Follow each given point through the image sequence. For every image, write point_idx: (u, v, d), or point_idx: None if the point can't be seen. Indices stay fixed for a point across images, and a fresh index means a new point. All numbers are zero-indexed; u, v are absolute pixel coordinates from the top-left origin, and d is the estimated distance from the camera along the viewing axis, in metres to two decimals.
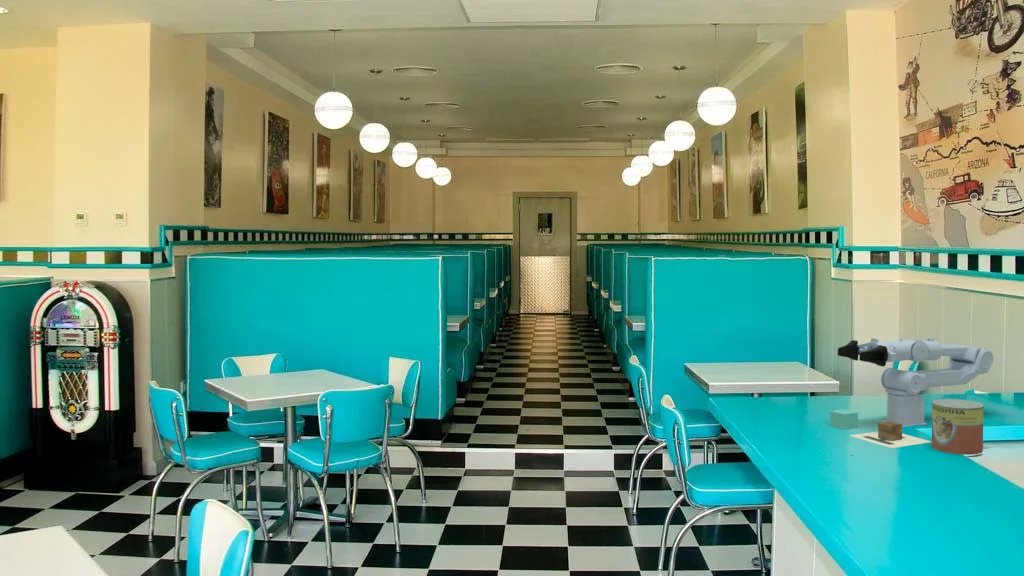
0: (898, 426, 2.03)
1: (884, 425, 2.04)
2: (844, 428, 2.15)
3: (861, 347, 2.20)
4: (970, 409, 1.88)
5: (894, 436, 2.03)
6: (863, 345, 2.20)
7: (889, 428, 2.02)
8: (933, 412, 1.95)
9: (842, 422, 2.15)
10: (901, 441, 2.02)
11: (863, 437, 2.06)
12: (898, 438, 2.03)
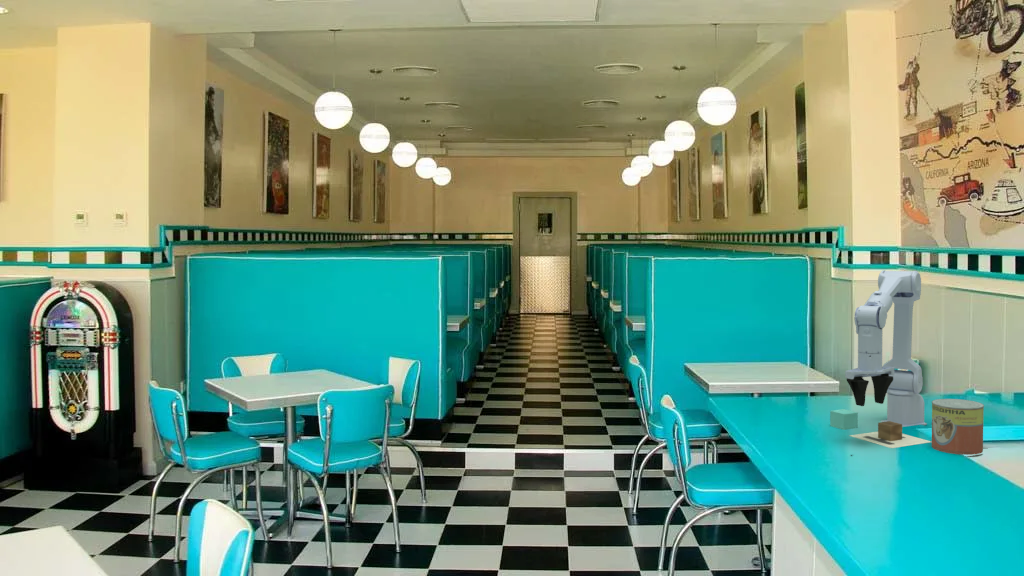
0: (898, 426, 2.03)
1: (884, 425, 2.04)
2: (844, 428, 2.15)
3: None
4: (970, 409, 1.88)
5: (894, 436, 2.03)
6: None
7: (889, 428, 2.02)
8: (933, 412, 1.95)
9: (842, 422, 2.15)
10: (901, 441, 2.02)
11: (863, 437, 2.06)
12: (898, 438, 2.03)
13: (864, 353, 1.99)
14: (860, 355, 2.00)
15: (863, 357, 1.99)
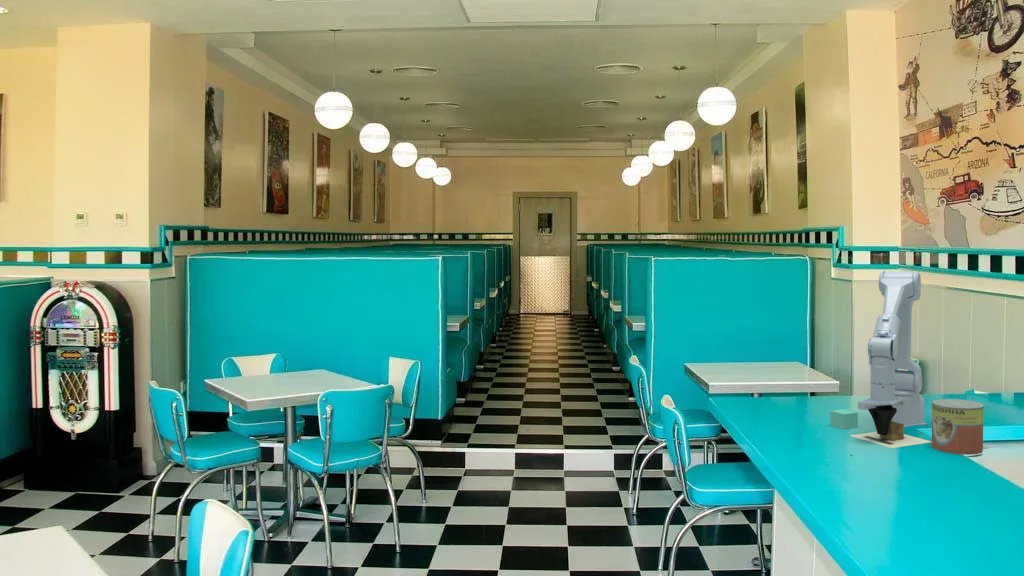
0: (900, 426, 2.03)
1: None
2: (844, 428, 2.15)
3: None
4: (970, 409, 1.88)
5: (896, 436, 2.03)
6: None
7: (891, 427, 2.02)
8: (933, 412, 1.95)
9: (842, 422, 2.15)
10: (901, 441, 2.02)
11: (863, 437, 2.06)
12: (899, 438, 2.03)
13: (877, 384, 2.01)
14: (873, 386, 2.02)
15: (876, 388, 2.01)
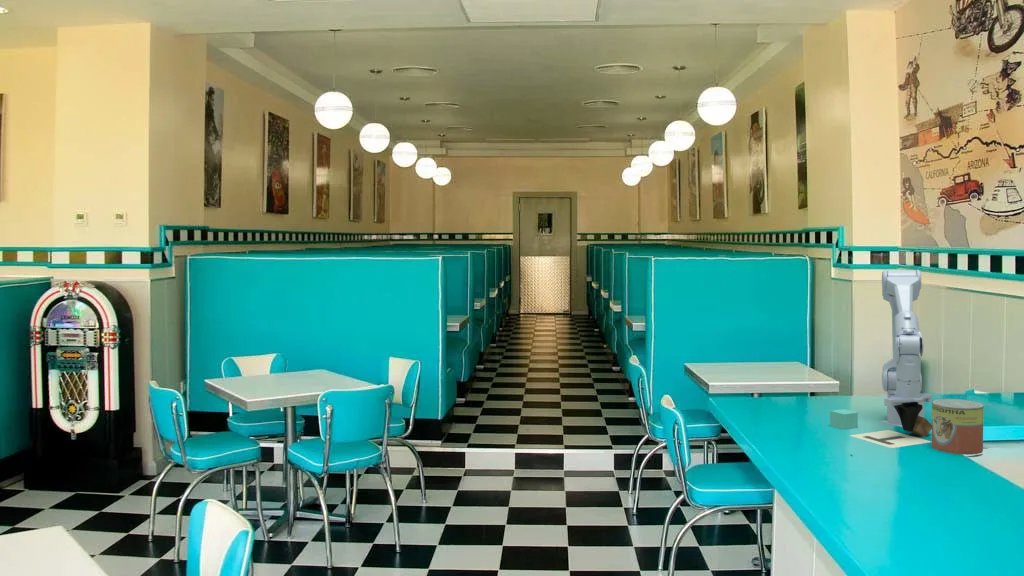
0: (929, 425, 2.06)
1: (918, 416, 2.08)
2: (844, 428, 2.15)
3: None
4: (970, 409, 1.88)
5: (921, 429, 2.06)
6: None
7: (921, 419, 2.06)
8: (933, 412, 1.95)
9: (842, 422, 2.15)
10: (901, 441, 2.02)
11: (863, 437, 2.06)
12: (923, 434, 2.06)
13: (903, 381, 2.04)
14: (899, 383, 2.05)
15: (902, 385, 2.05)
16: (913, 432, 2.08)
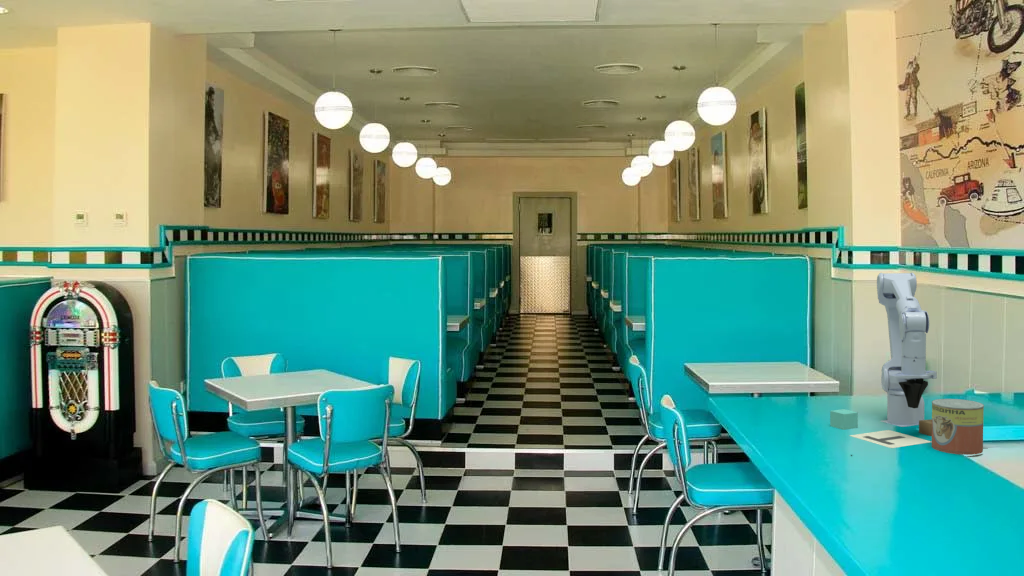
0: None
1: None
2: (844, 428, 2.15)
3: None
4: (970, 409, 1.88)
5: None
6: None
7: None
8: (933, 412, 1.95)
9: (842, 422, 2.15)
10: (901, 441, 2.02)
11: (863, 437, 2.06)
12: (931, 433, 2.07)
13: (908, 358, 2.05)
14: (904, 360, 2.06)
15: (907, 362, 2.05)
16: (922, 430, 2.09)
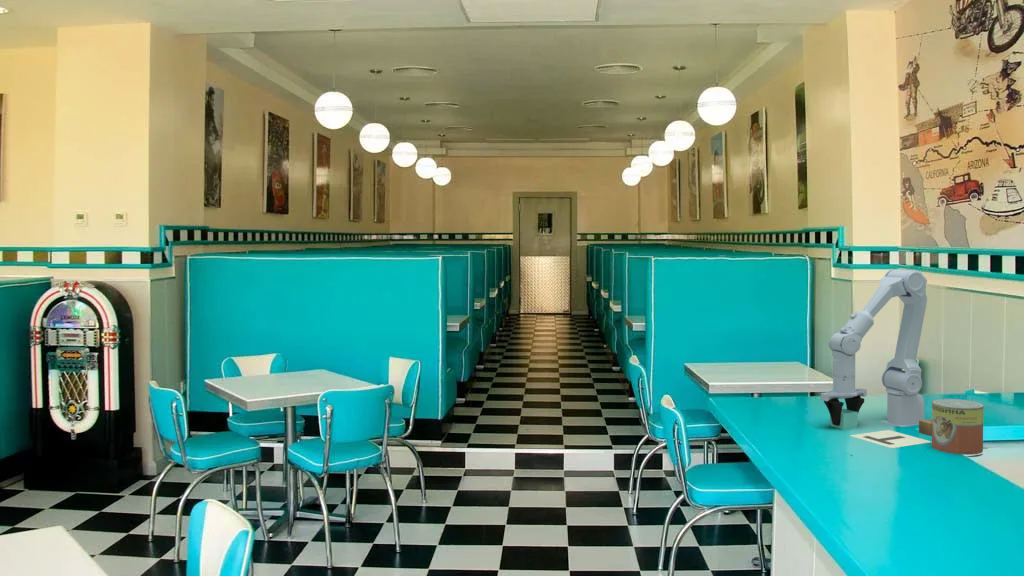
0: None
1: None
2: (844, 428, 2.15)
3: None
4: (970, 409, 1.88)
5: None
6: None
7: None
8: (933, 412, 1.95)
9: (842, 422, 2.15)
10: (901, 441, 2.02)
11: (863, 437, 2.06)
12: (931, 433, 2.07)
13: (838, 377, 2.16)
14: (835, 379, 2.17)
15: (837, 380, 2.16)
16: (922, 430, 2.09)
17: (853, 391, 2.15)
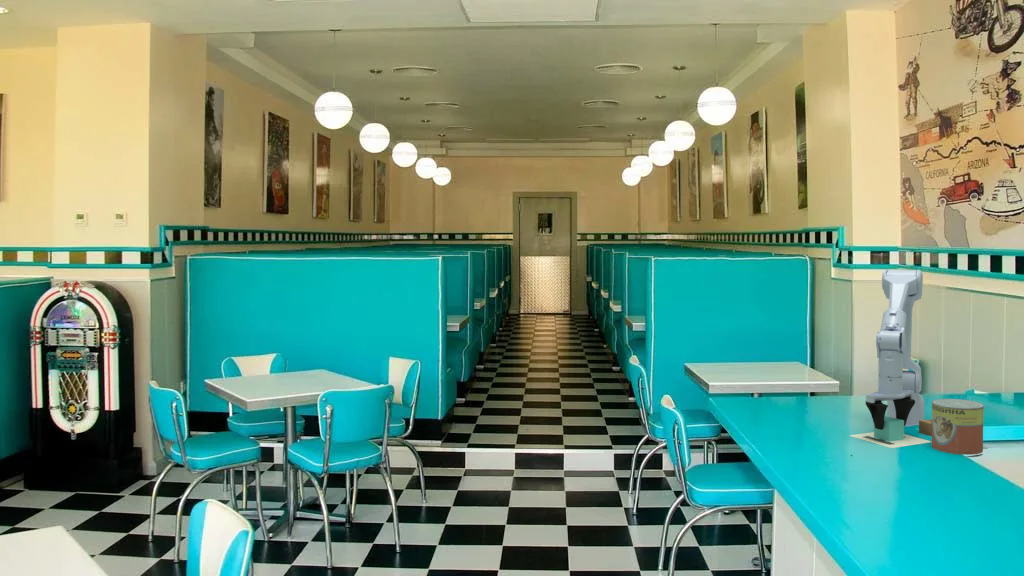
0: None
1: None
2: (890, 437, 2.02)
3: None
4: (970, 409, 1.88)
5: None
6: None
7: None
8: (933, 412, 1.95)
9: (887, 431, 2.02)
10: (901, 441, 2.02)
11: (863, 437, 2.06)
12: (931, 433, 2.07)
13: (885, 377, 2.02)
14: (881, 379, 2.03)
15: (884, 381, 2.02)
16: (922, 430, 2.09)
17: (901, 392, 2.02)
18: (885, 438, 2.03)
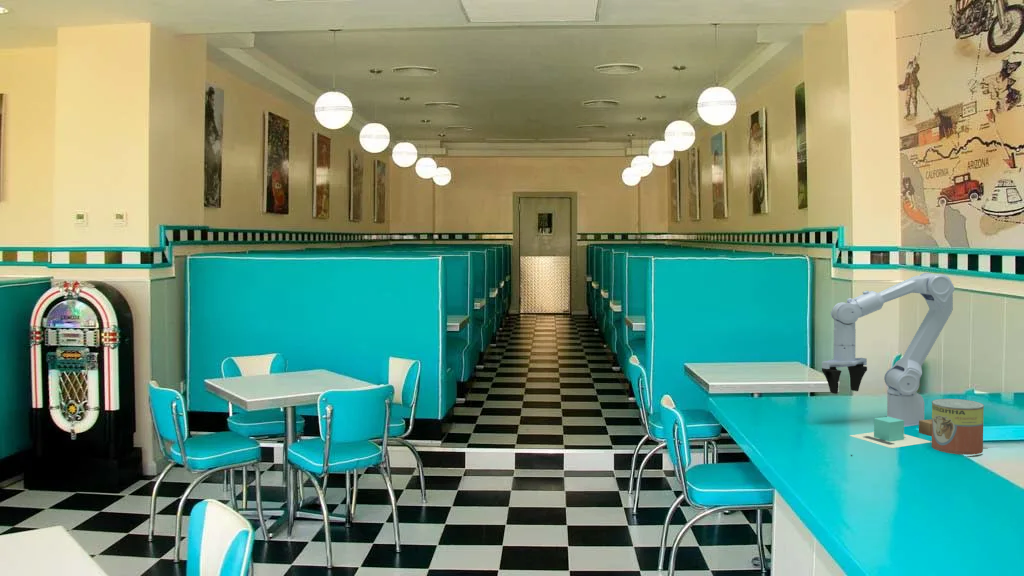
0: None
1: None
2: (890, 437, 2.02)
3: None
4: (970, 409, 1.88)
5: None
6: None
7: None
8: (933, 412, 1.95)
9: (887, 431, 2.02)
10: (901, 441, 2.02)
11: (863, 437, 2.06)
12: (931, 433, 2.07)
13: (839, 345, 2.20)
14: (835, 347, 2.22)
15: (838, 349, 2.21)
16: (922, 430, 2.09)
17: (853, 359, 2.20)
18: (885, 438, 2.03)
